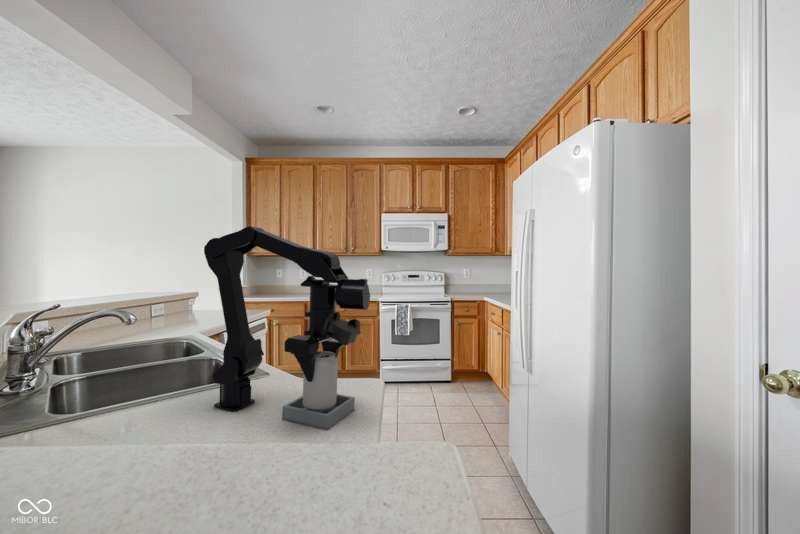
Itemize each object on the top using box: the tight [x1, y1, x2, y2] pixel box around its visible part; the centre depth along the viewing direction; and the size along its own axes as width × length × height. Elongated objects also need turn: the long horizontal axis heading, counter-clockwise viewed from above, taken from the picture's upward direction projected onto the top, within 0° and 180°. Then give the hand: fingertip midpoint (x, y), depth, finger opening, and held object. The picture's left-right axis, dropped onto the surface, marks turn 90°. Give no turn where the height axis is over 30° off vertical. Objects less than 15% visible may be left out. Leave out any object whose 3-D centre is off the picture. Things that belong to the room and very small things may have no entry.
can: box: [302, 350, 339, 412], centre depth 83 cm, size 8×8×12 cm
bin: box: [281, 393, 356, 431], centre depth 83 cm, size 11×11×3 cm
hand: (320, 376), depth 83 cm, fingers closed on can, 7 cm apart
